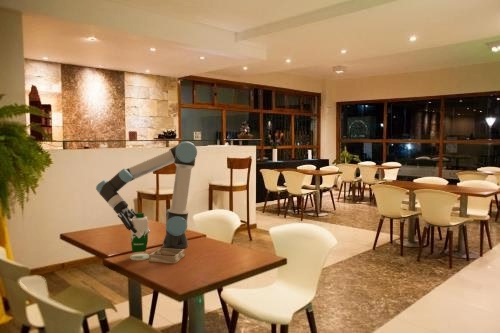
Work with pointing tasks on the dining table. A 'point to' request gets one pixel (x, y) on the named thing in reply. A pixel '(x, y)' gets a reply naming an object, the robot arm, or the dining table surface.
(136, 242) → the soya milk
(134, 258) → the pale green disc
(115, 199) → the robot arm
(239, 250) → the dining table surface
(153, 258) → the dock
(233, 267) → the dining table surface
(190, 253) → the dining table surface
